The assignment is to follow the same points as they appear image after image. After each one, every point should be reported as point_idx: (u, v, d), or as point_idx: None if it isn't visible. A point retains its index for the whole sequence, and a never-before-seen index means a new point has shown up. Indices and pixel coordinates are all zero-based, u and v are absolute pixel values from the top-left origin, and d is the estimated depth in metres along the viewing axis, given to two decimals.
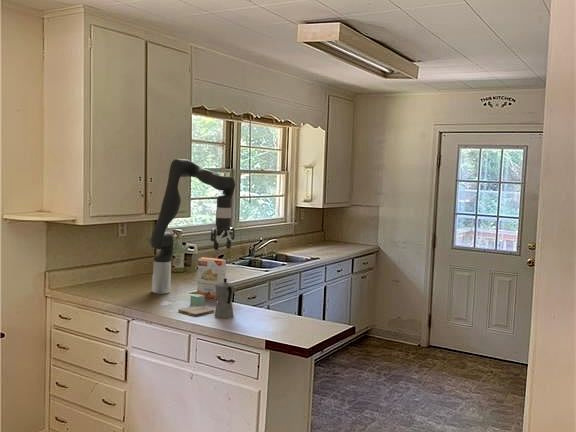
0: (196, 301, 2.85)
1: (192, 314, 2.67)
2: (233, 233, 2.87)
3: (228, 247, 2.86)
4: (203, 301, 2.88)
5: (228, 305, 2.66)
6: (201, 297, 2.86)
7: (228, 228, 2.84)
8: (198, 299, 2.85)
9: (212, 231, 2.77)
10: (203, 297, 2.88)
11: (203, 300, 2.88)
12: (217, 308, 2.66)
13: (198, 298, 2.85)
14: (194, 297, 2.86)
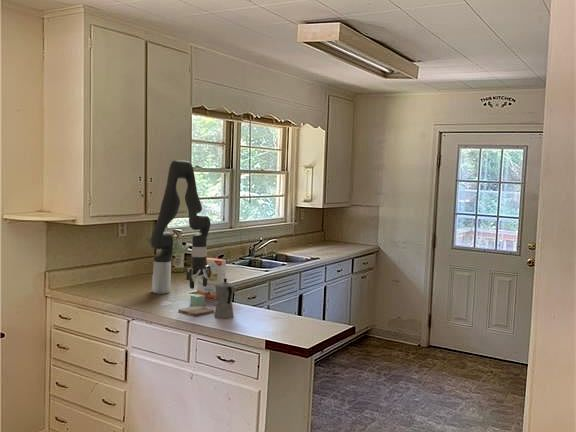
0: (196, 301, 2.85)
1: (192, 314, 2.67)
2: (209, 271, 2.91)
3: (204, 285, 2.90)
4: (203, 301, 2.88)
5: (228, 305, 2.66)
6: (201, 297, 2.86)
7: (204, 266, 2.88)
8: (198, 299, 2.85)
9: (188, 270, 2.81)
10: (203, 297, 2.88)
11: (203, 300, 2.88)
12: (217, 308, 2.66)
13: (198, 298, 2.85)
14: (194, 297, 2.86)
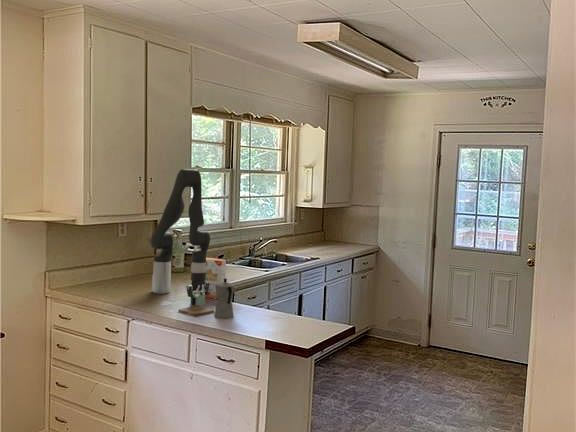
0: (196, 301, 2.85)
1: (192, 314, 2.67)
2: (207, 288, 2.91)
3: None
4: (203, 301, 2.88)
5: (228, 305, 2.66)
6: (201, 297, 2.86)
7: (204, 282, 2.89)
8: (198, 299, 2.85)
9: (187, 288, 2.82)
10: (203, 297, 2.88)
11: (203, 300, 2.88)
12: (217, 308, 2.66)
13: (198, 298, 2.85)
14: None
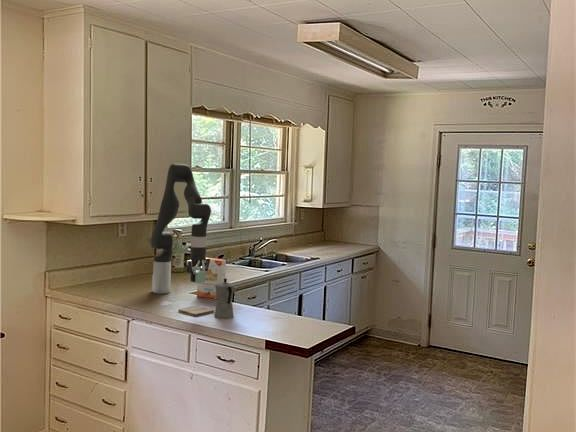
0: (196, 277, 2.70)
1: (192, 314, 2.67)
2: (208, 264, 2.76)
3: None
4: (203, 278, 2.73)
5: (228, 305, 2.66)
6: (201, 273, 2.71)
7: (204, 257, 2.74)
8: (198, 275, 2.69)
9: (187, 263, 2.67)
10: (203, 273, 2.72)
11: (203, 276, 2.73)
12: (217, 308, 2.66)
13: (198, 274, 2.70)
14: None
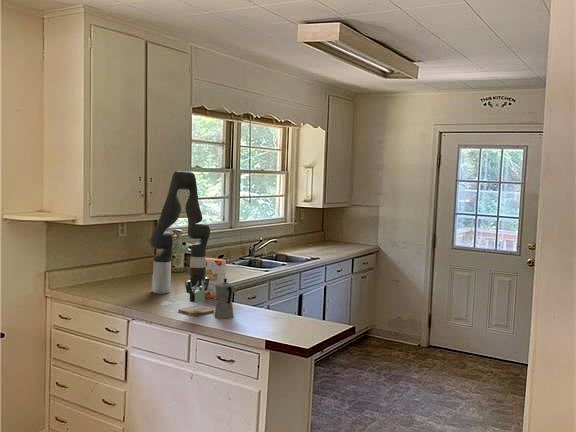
0: (195, 297, 2.70)
1: (192, 314, 2.67)
2: (207, 284, 2.77)
3: None
4: (203, 297, 2.73)
5: (228, 305, 2.66)
6: (201, 293, 2.72)
7: (203, 277, 2.74)
8: (197, 296, 2.70)
9: (186, 284, 2.68)
10: (203, 293, 2.73)
11: (203, 296, 2.73)
12: (217, 308, 2.66)
13: (197, 294, 2.70)
14: None
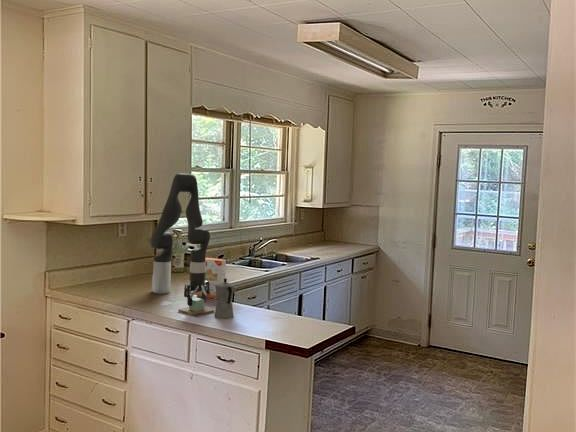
0: (195, 305, 2.71)
1: (192, 314, 2.67)
2: (208, 287, 2.77)
3: None
4: (203, 305, 2.74)
5: (228, 305, 2.66)
6: (200, 301, 2.72)
7: (203, 282, 2.74)
8: (197, 304, 2.71)
9: (185, 287, 2.68)
10: (202, 301, 2.73)
11: (202, 304, 2.74)
12: (217, 308, 2.66)
13: (197, 302, 2.71)
14: (193, 301, 2.72)
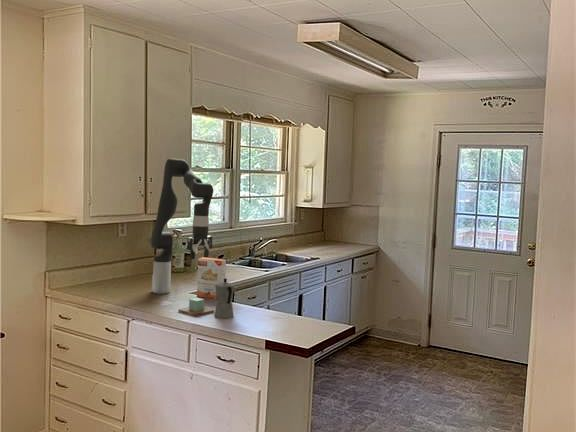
0: (195, 305, 2.71)
1: (192, 314, 2.67)
2: (211, 241, 2.79)
3: (205, 256, 2.78)
4: (203, 305, 2.74)
5: (228, 305, 2.66)
6: (200, 301, 2.72)
7: (205, 236, 2.76)
8: (197, 304, 2.71)
9: (188, 240, 2.70)
10: (202, 301, 2.73)
11: (202, 304, 2.74)
12: (217, 308, 2.66)
13: (197, 302, 2.71)
14: (193, 301, 2.72)
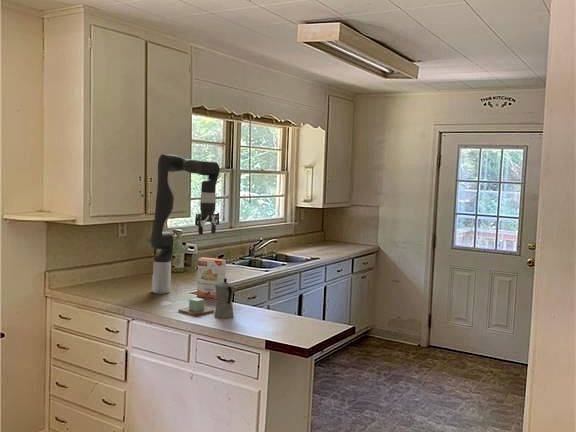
0: (195, 305, 2.71)
1: (192, 314, 2.67)
2: (218, 218, 2.90)
3: (213, 232, 2.89)
4: (203, 305, 2.74)
5: (228, 305, 2.66)
6: (200, 301, 2.72)
7: (213, 213, 2.87)
8: (197, 304, 2.71)
9: (196, 216, 2.80)
10: (202, 301, 2.73)
11: (202, 304, 2.74)
12: (217, 308, 2.66)
13: (197, 302, 2.71)
14: (193, 301, 2.72)
